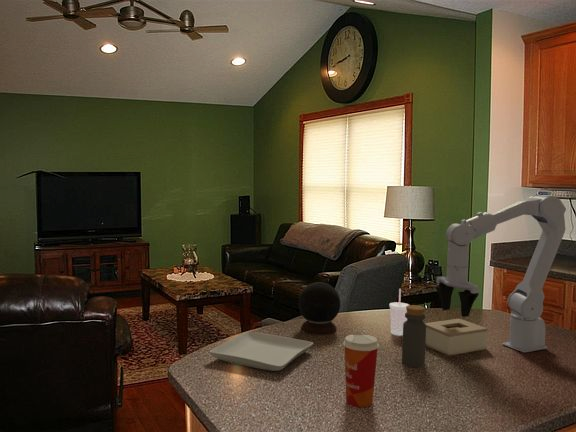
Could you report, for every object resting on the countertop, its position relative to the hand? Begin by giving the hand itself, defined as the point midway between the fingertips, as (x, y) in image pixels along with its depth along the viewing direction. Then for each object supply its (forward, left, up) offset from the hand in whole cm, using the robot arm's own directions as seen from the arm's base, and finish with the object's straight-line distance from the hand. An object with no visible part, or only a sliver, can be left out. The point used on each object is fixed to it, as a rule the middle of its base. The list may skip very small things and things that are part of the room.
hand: (455, 312), depth 153 cm
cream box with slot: (0, 0, -10) cm, 10 cm away
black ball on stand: (+28, -30, -10) cm, 42 cm away
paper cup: (+46, +20, -10) cm, 51 cm away
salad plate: (+54, -14, -10) cm, 57 cm away
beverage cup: (+7, -17, -10) cm, 21 cm away
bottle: (+20, +6, -10) cm, 23 cm away
